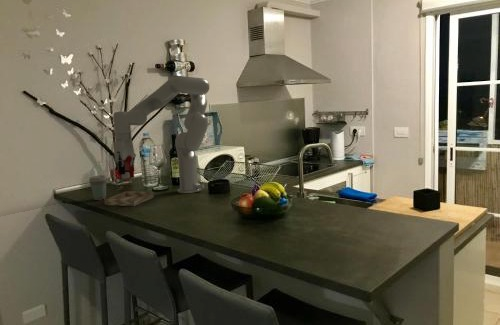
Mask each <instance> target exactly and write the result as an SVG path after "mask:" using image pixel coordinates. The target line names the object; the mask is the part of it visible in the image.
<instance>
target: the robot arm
mask: <svg viewBox="0 0 500 325" xmlns="http://www.w3.org/2000/svg"><path fill="white" fill-rule="evenodd" d="M209 91H210V83H209V81H208V80H206V79H205V78H202V77H195V76H194V77H192V76H184V75H177V76H173V77H171V78H169V79H168V80H167V81H165V82H164V83H163V84H162V85H161V86H159V88H156V90H155V91H154V92H152V93H151V94H149V95H148V96H147V97H146V98H144V99H143V100H141V101H140V102H139V103H138V104H136V105H135V106H134V107H133V108H132V109H131V110H129V111H115V112H114V113H113V114H112V115H113V123H114V124H113V126H114V135H115V136H114V137H115V140H114V147H113V148H114V159H113V160H114V162H115V164H116V165H117V167H118V174H119V175H120V174H125V166H124V160H126V158H127V155H131V157H132V158H133V169H134V170H135V160H136V157H137V154H136V153H135V149H134V148H135V147H134V143H133V140H132V139H133V138H132V128H131V126H137V127H138V126H143V125H145V123H147V121H148V116H149V115H150V114H151V113H153V112H155V111H157V110H159V109H161V108H163V107H165V106H166V105H167V104H168V103H170V102H171V101H172V100H173V99H174V98H175V97H176V96H177V95H179V94H187V95H188V94H189V96H190V105H189V108H188V111H187V113H186V116H185V118H184V121H183V126H184V128H185V129H186V130H187V131H183V132H180V133H179V134H177V135H176V137H175V140H174V142H175V143H174V145H175V150H176V156H177V165H178V177H179V178H178V179H179V188H178V189H177V193H179V194H194V193H198V192H200V191H201V190H202V189H205V183H202V184H201V183H200V181H198V171H197V170H198V168H197V157H196V153H195V152H196V151H197V150H199V148H200V147H201V145H202V144H203V142H204V138H205V135H206V133H207V129H208V127H209V121H208V117H207V116H206V115H205V114H206V110H207V107H208V100H207V96H206V94H208V92H209ZM120 159H122V160H120ZM120 161H122V163H121V162H120Z"/></svg>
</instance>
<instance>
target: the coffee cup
mask: <svg viewBox="0 0 500 325" xmlns="http://www.w3.org/2000/svg"><path fill="white" fill-rule="evenodd" d="M88 182H89V184H90V188H91V192H92V196H93V200H94V201H95V200H100V201H103V200H102V199H105V198H106V199H107V177H106V175H102V174H101V175H94V176H91V177H89V181H88Z"/></svg>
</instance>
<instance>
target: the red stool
mask: <svg viewBox="0 0 500 325" xmlns="http://www.w3.org/2000/svg"><path fill="white" fill-rule="evenodd" d="M120 160H122V159H120ZM120 162H121V163H122V161H120ZM133 164H134V163H133V158H132V157H131V155H127V158H126V160H124V166H125V174H119V179H120V180H122V181H128V180H133V179H134V178H135V168H134V169H133Z"/></svg>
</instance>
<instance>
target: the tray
mask: <svg viewBox="0 0 500 325" xmlns="http://www.w3.org/2000/svg"><path fill="white" fill-rule="evenodd" d="M154 198H155V195H154V191H123V192H121V193H118V194H115V195H113V196H110V197H106V199H104V200H103V201H104V206H123V207H124V206H125V207H126V206H127V207H136V206H137V205H140V204H142V203H144V202H147V201H149V200H151V199H154Z"/></svg>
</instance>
